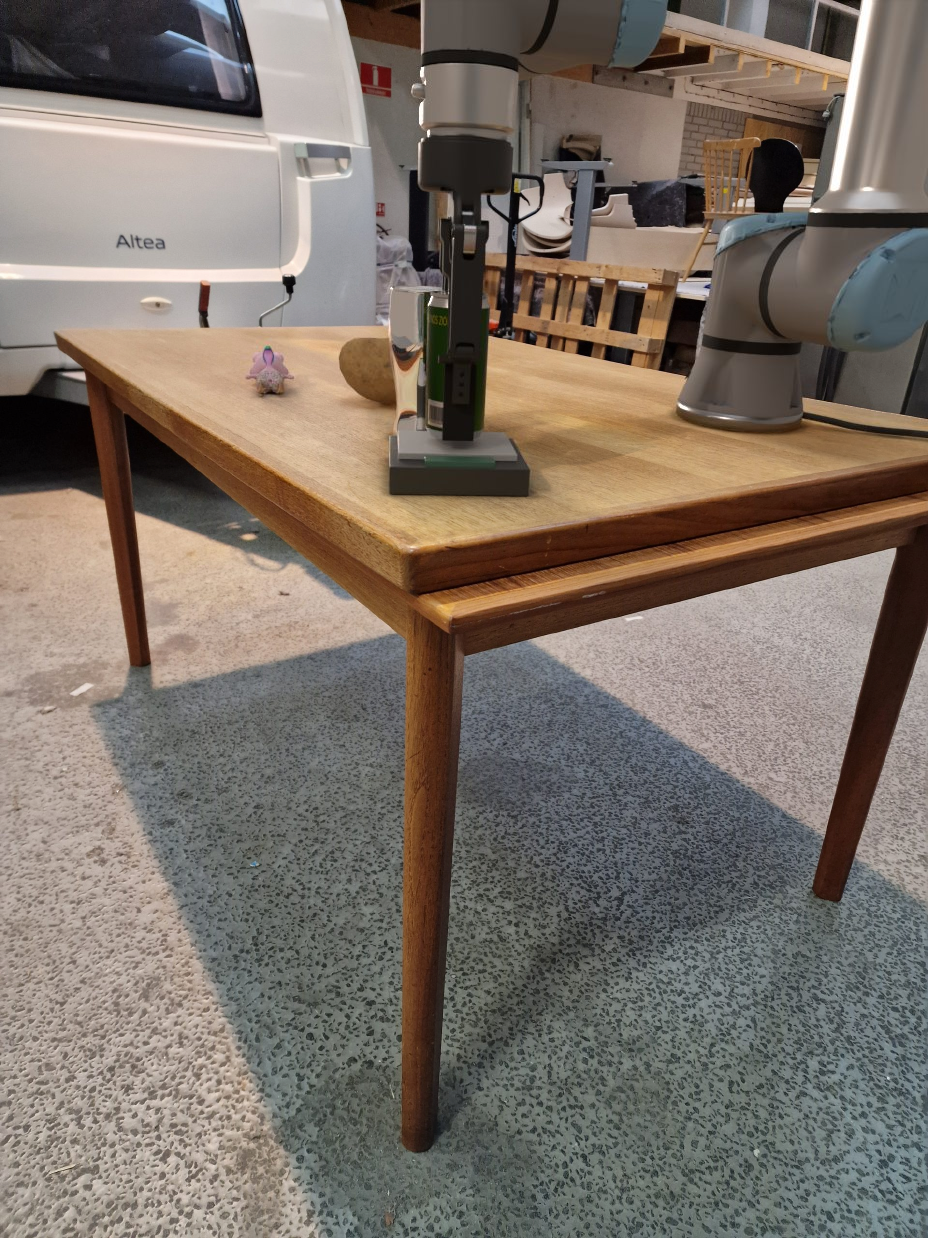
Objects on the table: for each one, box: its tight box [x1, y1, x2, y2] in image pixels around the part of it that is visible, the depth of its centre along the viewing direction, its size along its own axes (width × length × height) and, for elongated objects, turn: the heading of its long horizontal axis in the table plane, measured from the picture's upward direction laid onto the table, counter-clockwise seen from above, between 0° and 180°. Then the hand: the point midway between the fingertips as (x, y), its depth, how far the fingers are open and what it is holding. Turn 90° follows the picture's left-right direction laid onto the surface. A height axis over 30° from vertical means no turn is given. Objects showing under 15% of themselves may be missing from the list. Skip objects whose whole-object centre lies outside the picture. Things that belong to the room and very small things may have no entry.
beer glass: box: [387, 285, 442, 436], centre depth 85 cm, size 7×7×15 cm
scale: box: [388, 430, 531, 497], centre depth 75 cm, size 12×11×3 cm
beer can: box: [425, 290, 491, 439], centre depth 72 cm, size 5×5×12 cm
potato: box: [338, 337, 396, 406], centre depth 102 cm, size 10×14×8 cm
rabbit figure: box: [244, 344, 295, 397], centre depth 109 cm, size 6×6×15 cm
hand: (455, 431), depth 74 cm, fingers closed on beer can, 5 cm apart
